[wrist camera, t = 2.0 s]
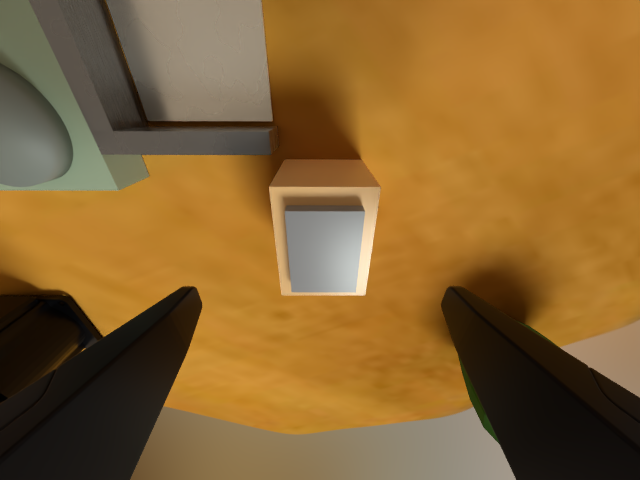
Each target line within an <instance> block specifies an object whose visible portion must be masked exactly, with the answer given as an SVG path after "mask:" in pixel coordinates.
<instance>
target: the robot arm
mask: <svg viewBox="0 0 640 480" xmlns="http://www.w3.org/2000/svg"><path fill="white" fill-rule="evenodd" d="M441 307H442V311H443V314H444V317H445V320H446V323H447V326H448V328H449V331H450V334H451V337H452V340H453V343H454V346H455V348H456V351H457V353H458V355H459V357H460V360H461V362H462V364H463V366H464V368H465V370H466V373H467V375H468V377H469V379H470V381H471V383H472V385H473V388H474V390H475V392H476V394H477V396H478V398H479V401H480V403H481V405H482V407H483V409H484V411H485V413H486V416H487V418H488V420H489V422H490V424H491V426H492V428H493V431H494V433H495V435H496V437H497V439H498V441H499V444H500V446H501V448H502V450H503V452H504V454H505V456H506V459H507V461H508V463H509V465H510V467H511V469H512V472H513V474H514V476H515V478H516V480H640V398H639V397H638V396H636V395H635V394H633V393H631V392H630V391H628V390H626V389H625V388H623V387H621V386H620V385H618V384H617V383H615V382H613V381H611V380H610V379H608V378H607V377H605V376H604V375H602V374H600V373H599V372H597V371H596V370H594V369H592V368H589V367H588V366H587V365H586V364H584V363H583V362H581V361H580V360H578V359H576V358H575V357H573V356H572V355H570V354H568V353H567V352H565V351H564V350H562V349H560V348H559V347H557V346H556V345H554V344H552V343H551V342H549V341H548V340H546V339H544V338H543V337H541V336H540V335H538V334H537V333H535V332H533V331H532V330H530V329H529V328H527V327H525V326H524V325H522V324H521V323H519V322H517V321H516V320H514V319H513V318H511V317H509V316H508V315H506V314H505V313H503V312H501V311H500V310H498V309H497V308H495V307H493V306H492V305H490V304H489V303H487V302H485V301H484V300H482V299H481V298H479V297H477V296H476V295H474V294H473V293H471V292H469V291H468V290H466V289H465V288H463V287H461V286H449V287H448V288H447V290H446V292H445V295H444V297H443V300H442V303H441ZM201 310H202V301H201V299H200V296H199V293H198V291H197V288H196V287H193V286H184V287H181V288H180V289H178V290H176V291H175V292H173V293H172V294H170V295H169V296H167V297H166V298H164V299H162V300H161V301H159V302H158V303H156V304H155V305H153V306H152V307H150V308H148V309H147V310H145V311H144V312H142V313H141V314H139V315H138V316H136V317H135V318H133V319H131V320H130V321H128V322H127V323H125V324H124V325H122V326H121V327H119V328H117V329H116V330H114V331H113V332H111V333H110V334H108V335H107V336H105V337H103V338H102V337H101V336H100V335H99V334H98V332H97V331H96V330H95V329H94V327H93V326H92V325H91V323H90V322H89V321H88V320H87V318H86V317H85V316H84V315H83V313H82V312H81V311H80V309H79V308H78V307H77V306H76V304H75V303H74V302H73V301H72V300H71V299H70V298H69V297H66V296H0V480H130V479H131V476H132V474H133V472H134V470H135V467H136V465H137V463H138V461H139V459H140V456H141V454H142V452H143V450H144V447H145V445H146V443H147V441H148V438H149V436H150V434H151V432H152V429H153V427H154V425H155V423H156V421H157V418H158V416H159V414H160V412H161V409H162V407H163V405H164V403H165V401H166V398H167V396H168V394H169V392H170V390H171V387H172V385H173V383H174V381H175V378H176V376H177V374H178V372H179V369H180V367H181V365H182V363H183V361H184V358H185V356H186V354H187V351H188V349H189V346H190V343H191V340H192V337H193V334H194V331H195V328H196V325H197V322H198V319H199V316H200V313H201ZM84 348H86V349H85V350H83V349H84ZM82 350H83V351H82ZM81 351H82V352H81Z"/></svg>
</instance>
